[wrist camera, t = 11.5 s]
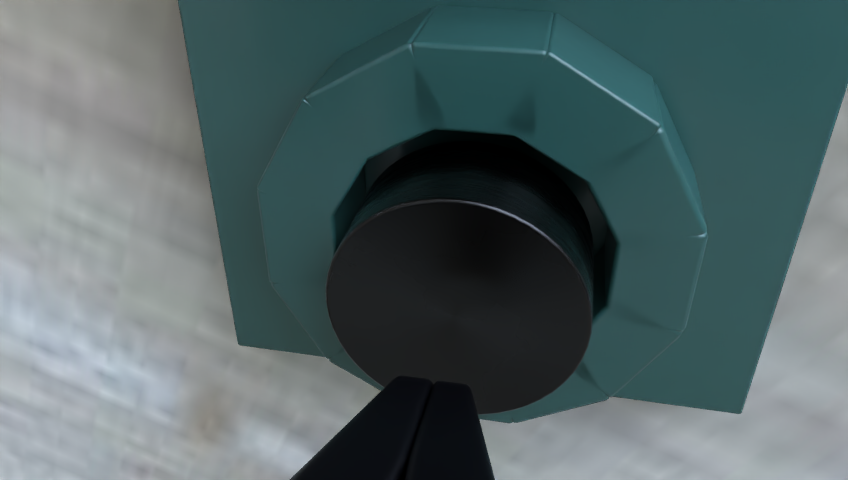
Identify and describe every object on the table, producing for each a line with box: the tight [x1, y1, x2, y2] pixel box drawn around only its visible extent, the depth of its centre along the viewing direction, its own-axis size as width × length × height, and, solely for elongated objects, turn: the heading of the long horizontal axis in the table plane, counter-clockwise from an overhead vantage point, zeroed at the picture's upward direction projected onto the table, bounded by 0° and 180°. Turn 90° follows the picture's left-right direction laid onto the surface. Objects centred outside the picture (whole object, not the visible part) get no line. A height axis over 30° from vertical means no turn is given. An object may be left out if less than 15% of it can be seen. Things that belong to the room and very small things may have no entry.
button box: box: [178, 0, 848, 423], centre depth 12 cm, size 10×8×4 cm
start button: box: [326, 141, 594, 415], centre depth 11 cm, size 4×4×2 cm
